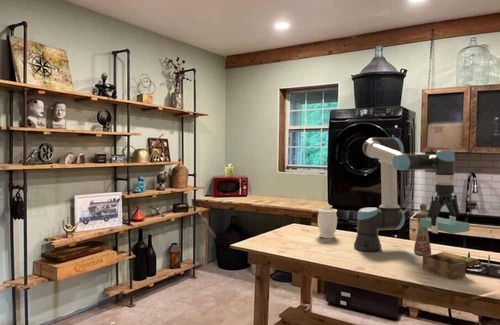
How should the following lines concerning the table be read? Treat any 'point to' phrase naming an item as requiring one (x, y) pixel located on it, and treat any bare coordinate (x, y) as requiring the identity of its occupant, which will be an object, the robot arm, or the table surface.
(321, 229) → the jar
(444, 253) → the carton
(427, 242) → the bottle
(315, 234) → the table surface
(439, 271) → the crate
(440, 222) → the lid
